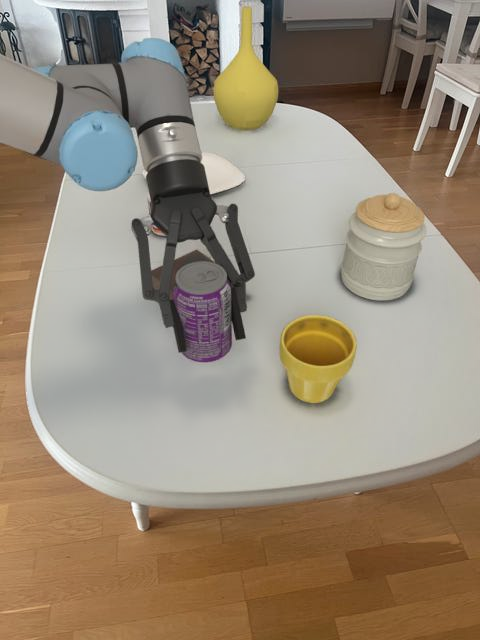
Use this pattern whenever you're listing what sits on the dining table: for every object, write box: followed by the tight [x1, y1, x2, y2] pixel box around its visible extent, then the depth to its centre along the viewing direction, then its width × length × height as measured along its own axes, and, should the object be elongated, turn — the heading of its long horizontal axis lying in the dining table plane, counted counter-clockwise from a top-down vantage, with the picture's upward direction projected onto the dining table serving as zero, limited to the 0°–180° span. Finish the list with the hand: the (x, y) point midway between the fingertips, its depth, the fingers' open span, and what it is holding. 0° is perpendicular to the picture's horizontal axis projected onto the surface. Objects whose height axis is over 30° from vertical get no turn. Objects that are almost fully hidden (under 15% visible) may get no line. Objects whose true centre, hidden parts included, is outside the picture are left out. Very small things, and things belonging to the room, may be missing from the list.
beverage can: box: [173, 261, 233, 363], centre depth 66 cm, size 7×7×12 cm
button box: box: [151, 249, 247, 300], centre depth 92 cm, size 14×11×5 cm
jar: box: [340, 192, 427, 301], centre depth 91 cm, size 13×13×18 cm
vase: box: [212, 6, 279, 131], centre depth 143 cm, size 18×18×30 cm
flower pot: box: [279, 314, 358, 404], centre depth 74 cm, size 10×10×10 cm
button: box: [182, 255, 208, 266], centre depth 90 cm, size 4×4×2 cm
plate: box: [142, 151, 246, 196], centre depth 126 cm, size 22×22×2 cm
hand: (212, 345), depth 65 cm, fingers closed on beverage can, 7 cm apart
